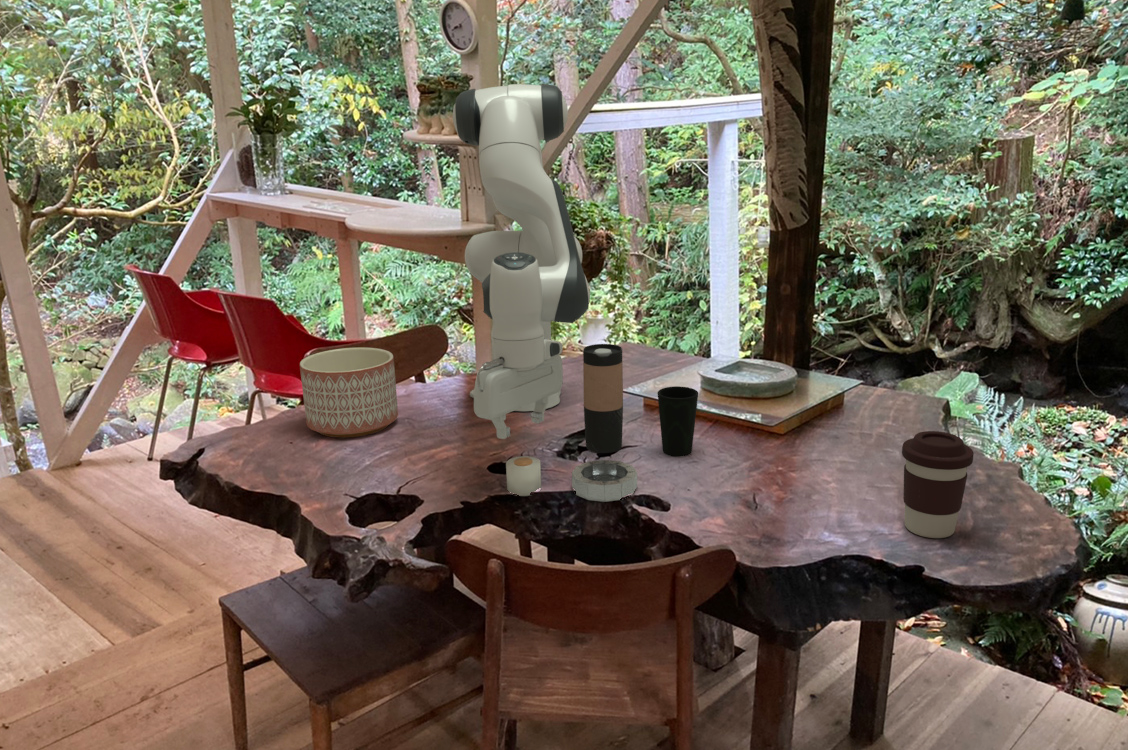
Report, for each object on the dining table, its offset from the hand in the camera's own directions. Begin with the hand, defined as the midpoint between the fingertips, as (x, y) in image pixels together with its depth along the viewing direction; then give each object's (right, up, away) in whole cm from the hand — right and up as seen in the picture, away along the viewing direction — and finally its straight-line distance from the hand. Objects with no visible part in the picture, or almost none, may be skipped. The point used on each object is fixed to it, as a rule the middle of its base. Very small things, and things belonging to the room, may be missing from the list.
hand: (521, 429), depth 150 cm
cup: (+29, -6, +19) cm, 35 cm away
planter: (-38, -2, +38) cm, 54 cm away
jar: (0, -11, +4) cm, 11 cm away
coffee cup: (+64, -15, -15) cm, 67 cm away
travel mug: (+15, -5, +22) cm, 27 cm away
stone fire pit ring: (+14, -10, +3) cm, 18 cm away
